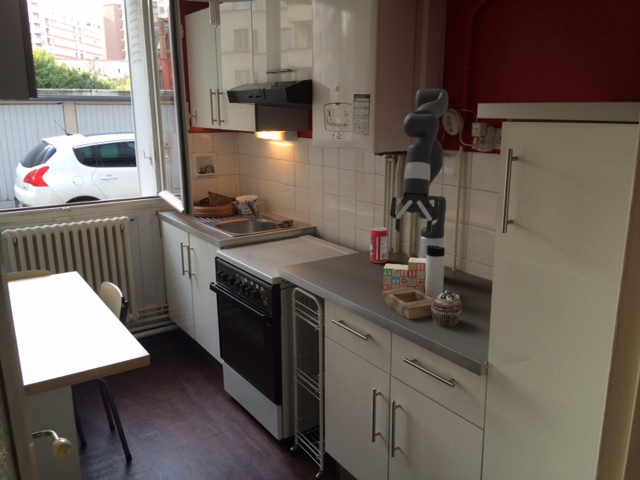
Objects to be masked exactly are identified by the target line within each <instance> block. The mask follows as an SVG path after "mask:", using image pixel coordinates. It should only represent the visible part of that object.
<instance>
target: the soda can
mask: <svg viewBox="0 0 640 480" xmlns="http://www.w3.org/2000/svg"><path fill="white" fill-rule="evenodd" d="M389 234H390V233H389V231H388V228H386V227H383V226H382V227H381V226H379V227H373V228H372V229H371V231H370V247H369V251H370V253H369V254H370V258H369V259H370V261H371V262H372V263H375V264H384V263H385V264H386V262H388V260H389Z"/></svg>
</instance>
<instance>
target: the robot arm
mask: <svg viewBox="0 0 640 480" xmlns="http://www.w3.org/2000/svg"><path fill="white" fill-rule="evenodd" d="M448 107H449V94H448V92H447V91H446V89H443V88H421V89H418V90H417V91H416V94H415V110H414V111H411V112H410V113H408V114H407V116H405V118H404V120H403V122H402V123H403V124H402V130H403V132H404V134H405V135H406V136H407V137H409V138H413V139H415V138H416V139H417V143H413V144H410V145H408V148H407V151H406V152H407V154H406V163H405V164H406V166H405V170H404V175H403V178H404V180H403V181H404V182H403V190H402V191H403V194H402V197H400V198H398V197H395V196H393V197H392V198H391V206H390V212H389V216H390V217H391V218H393V219H395V224H394V225H395V228H394V229H395V231H396V232H397V233H398V234H399V233H401V227H402V220H401V219H402V218H403V217H404V216H405V215H406V214H407V213H409V214H414V213H415V214H417V216H418V218H420V219H421V220H423V219H424V220H427V221H426V226H424V227H422V228H421V229H420V238H419V239H420V241H419V252H418V258H425V259H426V256H427V246H429V245H433V246H439V247H444V246H445V223H446V212H447V199H446V197H445V196H442V195H430V194H429V193H430V186H431V185H432V183H433V182H434V180H435V178H437V177H438V175H439V173H440V171H441V170H442V168H443V163H444V162H443V161H444V160H443V159H444V153H443V152H444V151H443V147H442V143H441V142H440V141H439V140H438V138H437V135H438V132H439V129H440V119H439V118H441V117H442V116H444V115H445V114H446V113H447V111H448ZM400 203H401V204H402V206H403V207H402V208H400V211H399V212H398V213H397V212H396V211H397V206H399V204H400ZM396 213H397V214H396ZM434 221H435V223H433V222H434ZM444 248H445V247H444Z"/></svg>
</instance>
